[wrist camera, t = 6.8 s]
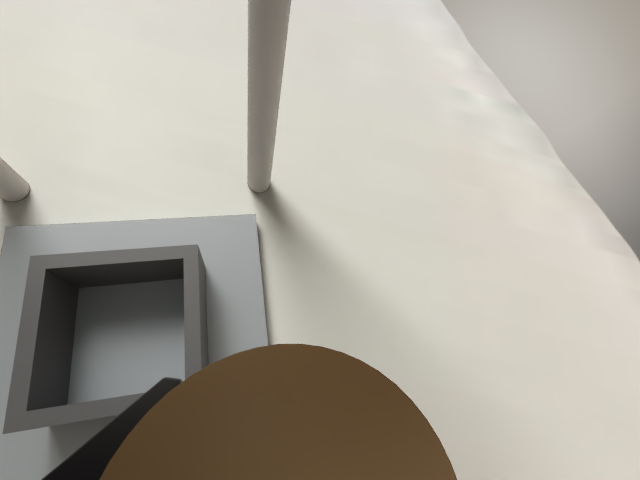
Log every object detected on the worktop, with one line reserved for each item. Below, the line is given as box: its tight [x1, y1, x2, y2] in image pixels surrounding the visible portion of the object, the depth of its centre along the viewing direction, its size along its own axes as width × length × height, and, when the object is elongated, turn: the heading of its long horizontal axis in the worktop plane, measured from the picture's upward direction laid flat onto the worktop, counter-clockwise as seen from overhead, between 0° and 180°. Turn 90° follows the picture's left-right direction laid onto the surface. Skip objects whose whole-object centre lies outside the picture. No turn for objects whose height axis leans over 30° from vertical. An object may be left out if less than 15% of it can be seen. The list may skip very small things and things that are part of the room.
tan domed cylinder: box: [100, 344, 457, 480], centre depth 9 cm, size 4×4×11 cm
